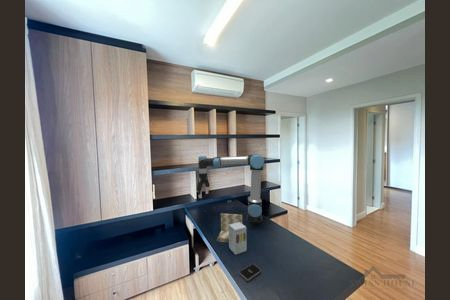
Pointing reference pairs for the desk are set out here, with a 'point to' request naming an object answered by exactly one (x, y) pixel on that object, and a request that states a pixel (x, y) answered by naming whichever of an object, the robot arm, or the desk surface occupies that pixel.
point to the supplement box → (237, 238)
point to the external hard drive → (250, 272)
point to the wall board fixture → (227, 225)
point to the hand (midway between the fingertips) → (203, 195)
